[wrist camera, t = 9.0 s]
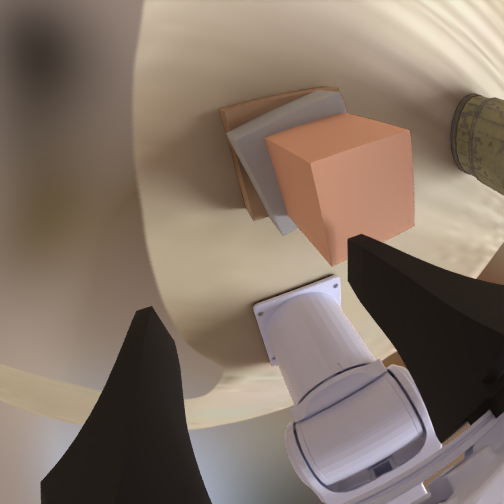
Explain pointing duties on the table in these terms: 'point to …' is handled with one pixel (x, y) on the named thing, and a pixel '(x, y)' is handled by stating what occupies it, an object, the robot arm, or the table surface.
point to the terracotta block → (345, 180)
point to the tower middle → (257, 155)
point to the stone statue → (480, 139)
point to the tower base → (244, 114)
